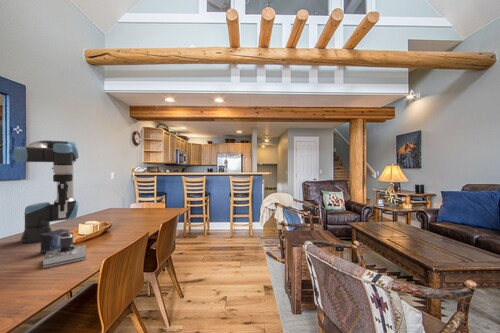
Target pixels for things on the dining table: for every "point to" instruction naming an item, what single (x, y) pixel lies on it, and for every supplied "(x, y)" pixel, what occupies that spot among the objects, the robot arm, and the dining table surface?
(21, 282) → the dining table surface
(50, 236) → the small box
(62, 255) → the grey piece
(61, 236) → the lens
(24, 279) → the dining table surface
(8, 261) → the dining table surface
